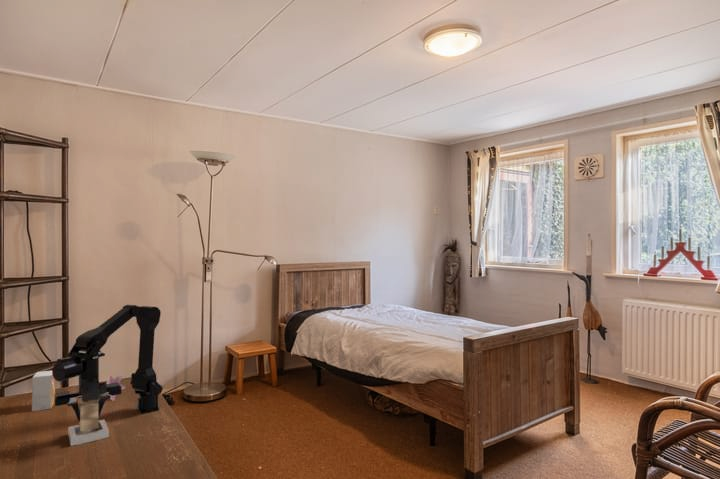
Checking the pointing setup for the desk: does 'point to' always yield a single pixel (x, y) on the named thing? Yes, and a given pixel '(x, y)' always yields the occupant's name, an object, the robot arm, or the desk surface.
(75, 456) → the desk surface
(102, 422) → the rectangular frame
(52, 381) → the small box
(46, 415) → the desk surface
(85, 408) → the peg
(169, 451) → the desk surface
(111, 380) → the lily
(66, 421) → the desk surface
